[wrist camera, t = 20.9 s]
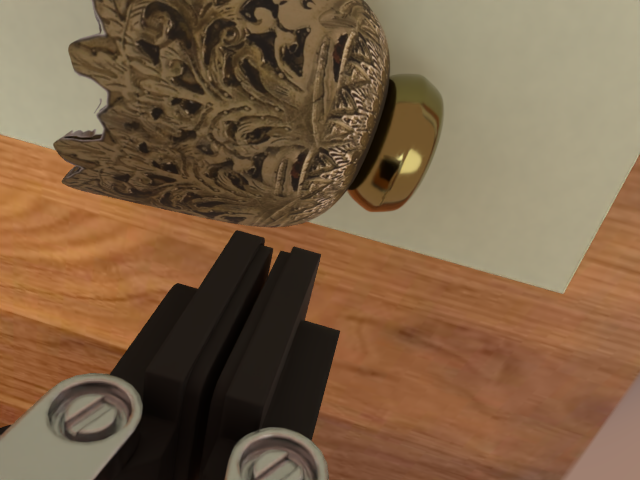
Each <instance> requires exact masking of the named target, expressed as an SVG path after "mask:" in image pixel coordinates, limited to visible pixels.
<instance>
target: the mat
mask: <svg viewBox="0 0 640 480" xmlns="http://www.w3.org/2000/svg"><path fill="white" fill-rule="evenodd" d="M364 1H365V2H366V3H367V4H368V5H369V7H370V8H371V10H372V11H373V12H374V14H375V15H376V17H377V18H378V20H379V22H380V24H381V26H382V28H383V30H384V33H385V36H386V40H387V43H388V49H389V55H390V76H391V75H395V74H420V75H423V76H424V77H426V78H427V79H428V80H429V81H430V82H431V83H432V84H433V85H434V86H435V87H436V88H437V89H438V90H439V92H440V93H441V95H442V98H443V103H444V121H443V127H442V132H441V136H440V140H439V143H438V146H437V149H436V152H435V155H434V157H433V160H432V162H431V165H430V167H429V169H428V171H427V173H426V175H425V177H424V179H423V181H422V183H421V185H420V186H419V188H418V189H417V191H416V192H415V194H414V195H413V196H412V197H411V199H410V200H409V201H408V202H407V203H406V204H404V205H403V206H402V207H401V208H399V209H398V210H395V211H391V212H369V211H367V210H365V209H364V208H362V207H361V206H360V205H358V204H357V203H356V202H355V201H354V200H353V199H352V198H351V197H350V196H349V194H348V193H347V191H346V192H345V193H344V195H343V196H342V197H341V198H340V199H339V200H338V201H337V202H336V203H335V204H334V206H332V207H331V208H330V209H329V210H327V211H326V212H325V213H323V214H321V215H320V216H318V217H316V218H315V219H312V220H310V221H307V222H311V223H314V224H318V225H321V226H325V227H328V228H332V229H335V230H339V231H343V232H346V233H350V234H353V235H357V236H360V237H364V238H367V239H371V240H374V241H378V242H381V243H385V244H388V245H392V246H395V247H399V248H402V249H406V250H410V251H413V252H417V253H420V254H424V255H427V256H431V257H434V258H438V259H441V260H445V261H448V262H452V263H455V264H459V265H462V266H466V267H469V268H473V269H477V270H480V271H484V272H487V273H491V274H494V275H498V276H501V277H505V278H508V279H512V280H515V281H519V282H522V283H526V284H529V285H533V286H536V287H540V288H543V289H547V290H551V291H554V292H558V293H561V294H563V293H564V292H565V290H566V288H567V286H568V284H569V283H570V281H571V279H572V277H573V275H574V273H575V272H576V270H577V268H578V266H579V264H580V262H581V261H582V259H583V257H584V255H585V253H586V251H587V250H588V248H589V246H590V244H591V242H592V240H593V239H594V237H595V235H596V233H597V231H598V229H599V228H600V226H601V224H602V222H603V220H604V218H605V217H606V215H607V213H608V211H609V209H610V207H611V206H612V204H613V202H614V200H615V198H616V196H617V195H618V193H619V191H620V189H621V187H622V185H623V184H624V182H625V180H626V178H627V176H628V174H629V173H630V171H631V169H632V167H633V165H634V163H635V162H636V160H637V158H638V156H639V154H640V0H364ZM99 21H100V20H99ZM100 24H101V23H100ZM101 29H102V25H101ZM99 32H100V31H99V25H98V22H97V20H96V18H95V15H94V10H93V6H92V0H0V134H1V135H4V136H8V137H11V138H15V139H18V140H22V141H25V142H29V143H32V144H36V145H39V146H43V147H46V148H50V149H53V150H55V148H54V146H53V143H54V142H55V141H57V140H58V139H60V138H61V137H63V136H64V135H66V134H67V133H69V132H70V131H71V130H73V133H74V132H75V131H78V130H81V131H83V132H85V131H87V130H91V131H93V130H94V129H96V133H95V134H102V132H103V127H102V125H101V123H100V122H99V120H98V119H97V117H96V114H97V113H98V112H99V110H100V109H101V108H102V107H104V106H105V105H107V103H106V101H107V92H106V91H105V90H104V89H103V88H102V87H100V86H99V85H98V84H96V83H95V82H94V81H92V80H91V79H88V78H85V77H82V76H78V75H77V74H76V73H75V72H74V69H73V66H72V63H71V59H70V56H69V52H68V47H69V45H70V44H71V43H72V42H74V41H76V40H78V39H80V38H83V37H87V36H90V35H95V34H97V33H99ZM101 34H104V31H103V29H102V32H101ZM100 98H101V99H102V102H101V105H100V106H99V104H100ZM98 106H99V108H98V109H97V107H98ZM96 109H97V110H96ZM95 110H96V112H95ZM94 112H95V113H94Z"/></svg>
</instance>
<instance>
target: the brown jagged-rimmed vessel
mask: <svg viewBox="0 0 640 480" xmlns="http://www.w3.org/2000/svg"><path fill="white" fill-rule="evenodd" d="M92 6H93V10H94V15H95V18H96V20H97V22H98V25H99V31H100V32H99V33H97V34H95V35H90V36H87V37H83V38H80V39H78V40H76V41H74V42H72V43H71V44H70V45H69V47H68V52H69V56H70V59H71V63H72V66H73V69H74V72H75V73H76V74H77V75H78V76H82V77H85V78H88V79H91V80H92V81H94V82H95V83H96V84H98V85H99V86H100V87H102V88H103V89H104V90H105V91H106V92H107V101H106V103H107V105H105V106H104V107H102V108H101V109H100V110H99V112H98V113H97V114H96V117H97V119H98V120H99V122H100V123H101V125H102V127H103V132H102V134H95V133H96V129H94V130H93V131H91V130H87V131H85V132H83V131H81V130H78V131H75V132H74V133H73V130H71V131H70V132H69V133H67V134H66V135H64V136H63V137H61V138H60V139H58V140H57V141H55V142H54V143H53V146H54V148H55V150H56V151H57V152H58V154H59V155H60V156H61V157H62V158H63V159H64V160H65V161H67V162H69V163H71V164H73V165H75V167H74V168H73V169H71V170H70V171H69V172H68V174H67V175H66V176H65V177H64V178H63V180H62V183H63V184H65V185H67V186H69V187H72V188H75V189H78V190H81V191H85V192H89V193H93V194H98V195H103V196H108V197H112V198H117V199H121V200H126V201H130V202H134V203H139V204H143V205H147V206H152V207H156V208H161V209H165V210H170V211H174V212H179V213H184V214H188V215H193V216H198V217H202V218H207V219H212V220H217V221H223V222H228V223H234V224H241V225H248V226H258V227H285V226H292V225H297V224H301V223H305V222H307V221H310V220H312V219H315V218H316V217H318V216H320V215H321V214H323V213H325V212H326V211H327V210H329V209H330V208H331V207H332V206H334V204H335V203H336V202H337V201H338V200H339V199H340V198H341V197H342V196H343V195H344V193H345V192H346V191H347V193H348V194H349V196H350V197H351V198H352V199H353V200H354V201H355V202H356V203H357V204H358V205H360V206H361V207H362V208H364V209H365V210H367V211H369V212H391V211H395V210H398V209H399V208H401V207H402V206H403V205H404V204H406V203H407V202H408V201H409V200H410V199H411V197H412V196H413V195H414V194H415V192H416V191H417V189H418V188H419V186H420V185H421V183H422V181H423V179H424V177H425V175H426V173H427V171H428V169H429V167H430V165H431V162H432V160H433V157H434V155H435V152H436V149H437V146H438V143H439V140H440V136H441V132H442V127H443V121H444V103H443V98H442V95H441V93H440V92H439V90H438V89H437V88H436V87H435V86H434V85H433V84H432V83H431V82H430V81H429V80H428V79H427V78H426V77H424V76H423V75H420V74H395V75H391V76H390V55H389V49H388V43H387V40H386V36H385V33H384V30H383V28H382V26H381V24H380V22H379V20H378V18H377V17H376V15H375V14H374V12H373V11H372V10H371V8H370V7H369V5H368V4H367V3H366V2H365V1H364V0H92ZM99 20H100V21H99ZM100 23H101V24H100ZM101 25H102V29H103V31H104V34H101V32H102V29H101ZM101 102H102V99H101V98H100V104H99V106H100V105H101ZM99 106H98V107H97V109H98V108H99ZM97 109H96V110H97ZM96 110H95V112H96ZM95 112H94V113H95Z"/></svg>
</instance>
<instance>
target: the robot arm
mask: <svg viewBox="0 0 640 480" xmlns="http://www.w3.org/2000/svg"><path fill="white" fill-rule="evenodd" d="M264 243H265V239H264V238H263V237H259V236H256V235H252V234H249V233H245V232H242V231H238V230H237V231H235V233H234V234H233V236H232V237H231V239H230V240H229V242H228V243H227V245H226V246H225V248H224V250H223V251H222V253H221V254H220V256H219V257H218V259H217V260H216V262H215V264H214V265H213V267H212V268H211V270H210V271H209V273H208V274H207V276H206V277H205V279H204V281H203V282H202V284H201V285H200V287H199V288H198V289H196V288H193V287H189V286H186V285H182V284H179V283H177V284H175V285H174V286H173V287H172V288H171V289H170V291H169V292H168V293H167V295H166V296H165V298H164V299H163V300H162V302H161V303H160V305H159V306H158V307H157V309H156V310H155V312H154V313H153V314H152V316H151V317H150V319H149V320H148V322H147V323H146V324H145V326H144V327H143V329H142V330H141V331H140V333H139V334H138V336H137V337H136V338H135V340H134V341H133V343H132V344H131V345H130V347H129V348H128V350H127V351H126V352H125V354H124V355H123V357H122V358H121V359H120V361H119V362H118V364H117V365H116V366H115V368H114V369H113V371H112V372H111V373H110V375H109V374H97V373H90V374H84V375H78V376H74V377H72V378H69V379H67V380H64V381H62V382H60V383H59V384H57V385H56V386H55V387H53V388H52V389H50V390H49V391H48V392H47V393H46V394H45V395H44V396H42V397H41V398H40V399H39V400H38V401H37V402H36V403H35V404H34V405H33V406H32V407H31V408H30V409H28V410H27V411H26V412H25V413H24V414H23V415H22V416H21V417H20V418H19V419H18V420H17V421H16V422H14V423H13V424H12V425H9V426H5V427H2V428H0V480H329V475H328V467H327V462H326V460H325V458H324V456H323V454H322V452H321V451H320V449H319V448H318V447H317V446H316V445H315V444H314V443H313V442H312V441H311V440H312V437H313V433H314V429H315V425H316V421H317V418H318V414H319V410H320V406H321V402H322V398H323V395H324V391H325V387H326V383H327V379H328V376H329V372H330V368H331V364H332V360H333V357H334V353H335V349H336V345H337V341H338V338H339V334H340V331H339V330H335V329H332V328H328V327H325V326H322V325H318V324H315V323H311V322H308V321H305V317H306V313H307V309H308V305H309V301H310V297H311V293H312V289H313V286H314V282H315V278H316V274H317V270H318V266H319V262H320V257H321V254H318V253H315V252H311V251H308V250H304V249H301V248H297V247H293V249H292V251H291V253H288V252H284V251H280V253H279V255H278V257H277V259H276V261H275V263H274V265H273V267H272V269H271V271H270V274H269V276H268V273H269V269H270V264H271V259H272V253H273V248H270V247H267V246H264Z"/></svg>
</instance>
